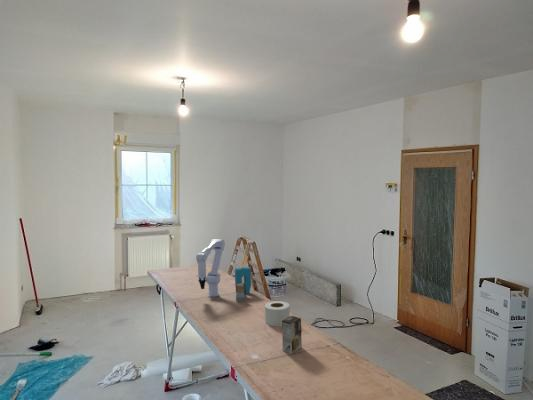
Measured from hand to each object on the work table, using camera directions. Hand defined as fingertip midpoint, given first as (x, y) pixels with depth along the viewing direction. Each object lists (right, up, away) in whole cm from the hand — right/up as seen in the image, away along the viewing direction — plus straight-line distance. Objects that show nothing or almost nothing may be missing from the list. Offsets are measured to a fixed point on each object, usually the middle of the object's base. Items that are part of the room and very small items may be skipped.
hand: (202, 287), depth 286 cm
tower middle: (+28, -6, +1) cm, 29 cm away
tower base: (+28, -10, +1) cm, 29 cm away
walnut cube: (+28, -3, 0) cm, 28 cm away
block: (+29, -9, +18) cm, 36 cm away
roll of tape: (+54, -12, -43) cm, 70 cm away
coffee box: (+61, -14, -82) cm, 103 cm away
